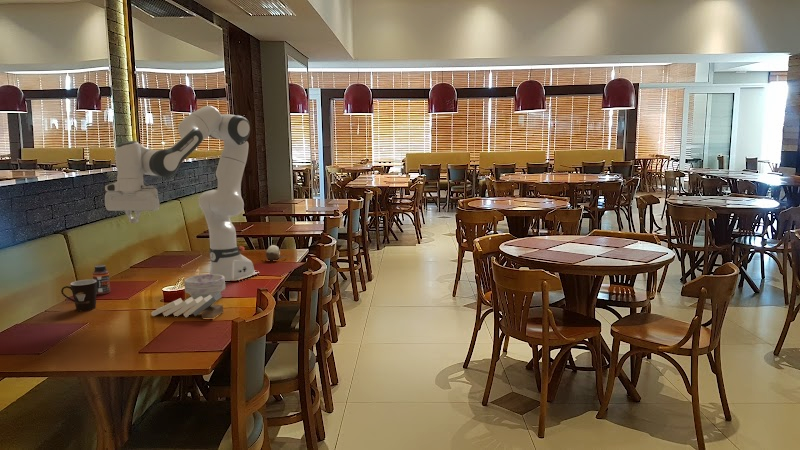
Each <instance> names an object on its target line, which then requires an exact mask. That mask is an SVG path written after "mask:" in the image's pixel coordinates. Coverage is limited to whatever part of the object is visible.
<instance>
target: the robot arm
mask: <svg viewBox="0 0 800 450" xmlns="http://www.w3.org/2000/svg"><path fill="white" fill-rule="evenodd" d="M177 128H178V129H177V130H178V135H179V137H180V139H179V140H178V141H177V142H175V143H174V144H173V145H172V146H171V147H169V148H166V149H165V148H164V149H151V148H148V147H146V146H144V145H142V144H141V143H139V141H136V140H131V141H123V142H120V143H118V144H117V145H116V147H115V153H114V155H115V168H116V171H117V176H116V180H117V181H115V182H112V183H108V184H107V185H105V186H104V190H105V191H106V192H105V194H104V205H105V209H106V210H107V211H109V212H110V211H112V212H113V211H116V212H117V211H119V212H121V211H122V212H125V215H126V217H127V219H128V222H129V224H132V223H133V224H138V223H140V219H139V218H140V216H141V214H142V212H155V211H156V212H157V211H159V209H160V208H161V205H160V199H159V192H158V188H156V187H155V186H153V185H145V184H144V175H146V176H147V175H148V176H156V177H163V178H169V177H172V176H173V175H175V174H176V173H177V172H178V170H179V168H180V166H181V165H182V163H183V161H184V160H186V159H187V158H188V157H189V155H191V153H193V152H194V151H195V150H196V149H197V148H198V147H199V146H200V145H201V143H202V142H203V141H204V140H205V139H207V138H208V137H209V138H211V139H215V140H221V141H223V149H222V151H221V152H220V153H221V154H220V157H219V159H218V160H219V161H218V165H217V167H216V171H215V176H216V179H217V189H210V190H206V191H203V193H201V194H200V196H199V198H198V206H199V208H200V210H201V211H202V212H203V215H204V218H205V221H206V225H207V228H208V234H209V246H210V247H209V259H210V270H209V274H217V275H223V276H224V277H225V281H230V280H240V279H243V278H247V277H250V276H252V275H255V274H257V273H260V271H258V272H255V271H257V270H255V267H254V264H253V261H252V260H251V259H249V258H247V257H246V256H245V255H243V254H241V252H244V251H245V247H244V246H242V245H240V246H238V245H237V233H236V227H235V226H234V224H233V222H232V220H231V218H233V217H237V216H239V215H241V213H242V212H243V211H244V208H245V203H244V199H243V197H242V190H241V189H242V180H243V176H244V171H245V167H246V164H247V162H248V156H249V155H248V154H249V146H250V145H249V142H248V139H249V137H250V134H251V125H250V121H249V119H247V118H246V117H244V116H242V115H239V114H237V115H235V114H231V113H230V114H228V113H223V114H221V112H220V111H219V109H218V108H217V107H215V106H212V105H204V106H202V107H200V108H198V109H196V110H194V111H193V112H191V113H190V114H188V115H187V116H186V117H184V118H183V119H182V120H181V122H179V124H178V127H177ZM133 212H134V214H135V216H133V215H132V214H133Z"/></svg>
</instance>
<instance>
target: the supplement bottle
mask: <svg viewBox="0 0 800 450" xmlns="http://www.w3.org/2000/svg"><path fill="white" fill-rule="evenodd" d="M92 280H96V281H97V285H96V295H100V296H101V295H107V294H109V293H111V283H110V282H111V281H110V280H111V279H110V273H109V271H108V270H107V267H106V264H100V265H99V264H98V265H95V266H94V271H93V272H92Z"/></svg>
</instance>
